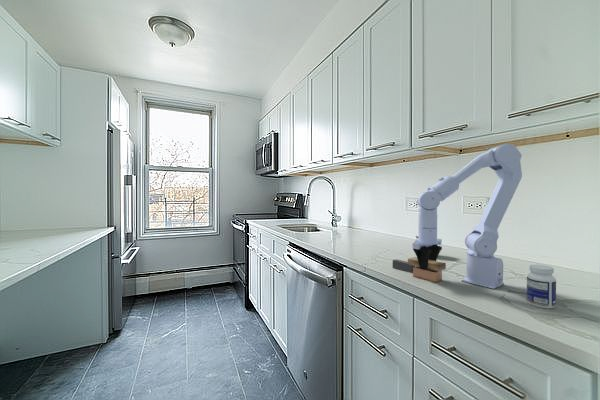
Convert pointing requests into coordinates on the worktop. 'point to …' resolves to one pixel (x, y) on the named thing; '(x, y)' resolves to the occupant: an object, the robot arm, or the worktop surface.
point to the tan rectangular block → (427, 274)
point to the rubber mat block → (402, 265)
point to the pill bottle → (541, 287)
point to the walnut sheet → (431, 264)
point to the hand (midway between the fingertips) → (427, 267)
